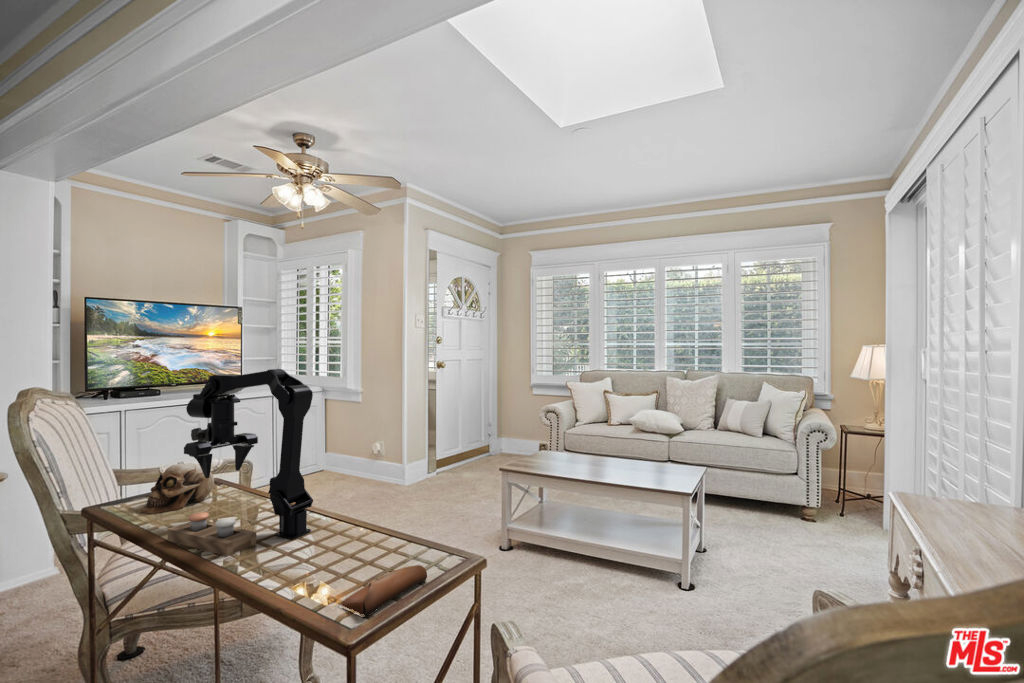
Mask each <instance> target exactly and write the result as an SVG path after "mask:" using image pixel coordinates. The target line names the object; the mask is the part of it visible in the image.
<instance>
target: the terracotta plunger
mask: <svg viewBox="0 0 1024 683" xmlns="http://www.w3.org/2000/svg"><path fill="white" fill-rule="evenodd" d="M208 518H210V514H209V512H205V511H204V512H203V511H202V512H195V513H192V514H190V515H188V522H190V531H192V532H197V531H201V530H204V529H206V528H207V521H208Z"/></svg>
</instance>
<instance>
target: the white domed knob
mask: <svg viewBox="0 0 1024 683" xmlns="http://www.w3.org/2000/svg"><path fill="white" fill-rule="evenodd" d="M214 523H215V526H216V527H217V537H218V538H227V537H230V536H232V535H233V534H234V527H235V524H236V523H237V522H236V518H234V517H226V518H221V519H218V520H216V521H215V522H214Z"/></svg>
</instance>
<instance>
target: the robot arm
mask: <svg viewBox="0 0 1024 683" xmlns="http://www.w3.org/2000/svg"><path fill="white" fill-rule="evenodd" d="M266 385H267V386H268V387H269V389H270V394H271V395H272V396H273V397H274V398H275V399H276V400H277V404H278V410H279V412H280V414H281V417H282V418H283V421H282V433H281V434H282V436H281V447H280V448H281V449H280V459H279V471H278V473H277V475H276V476H274V477H270V480H269V490H268V492H267V494H269V499H270V502H271V505H272V508H273V512H274V514H275V515H276V516H279V517H278V518H279V522H278V524H279V526H278V527H279V528H278V529H279V531H278V532H276V533H274V536H276V537H281V538H285V539H290V540H295V539H296V538H299V537H301V536H304V535H306V534H308V533H311V532H312V529H310V528H307V526H308V525H307V519H308V517H307V512H308V510H307V509H309V508H311V507H312V506H313V502H314V499H313V498H312V496H311V495H310V493H309V492H308V491H307V490H306V488H305V486H306V485H305V479H304V477H303V475H302V473H301V471H300V467H301V457H302V456H301V455H302V446H303V445H302V441H303V432H304V420H305V417H306V415H307V414H308V412H309V411H310V409H311V406H312V400H313V397H314V396H313V390H312V389H311V388H310V386H308V385H307V384H304V383H303V382H302V381H301V380H299V379H297V378H296V377H293V376H292V375H290V374H289V373H288V372H286V371H285V370H284V369H281V368H274V369H273V368H272V369H270V368H269V369H267V370H263V371H258V372H252V373H244V374H238V373H236V374H235V373H227V374H226V373H225V374H212V375H210V376H209V377H208V379H207V381H206V383H205V385H204V387H203V388H202V390H201V391H200V393H196V394H195V393H194V394H193V395H192V399H191V400H189V401H188V403H187V405H186V413H187V415H188V416H189V417H191V418H199V419H200V418H201V419H202V418H203V419H210V422H207V425H206V428H205V429H202V428H201V427H197V428H196V427H195V428H193V429H191V430H190V437H191V441H192V442H187V443H186V444H185V446H184V447H183V454H184V455H188V456H189V457H192V458H194V459H195V460H196V462H197V464H199V465H200V467H201V469H202V471H203V474H204V476H205V478H209V476H210V471H211V472H212V470H211V468H212V462H213V453H210V452H211V451H212V450H214V449H218V448H224V447H228V446H232V448H233V450H234V466H235V471H240V470H241V469H242V465H243V464H244V462H245V460H246V458H247V456H248V455H249V453H250V451H251V449H253V448H254V447H255V445H257V444H258V443H259V437H258V436H257V435H256V433H252V432H251V433H250V432H248V433H247V432H243V433H238V434H235V426H238V421H235V404H237V403H238V404H239V403H241V400H240V398H239V397H237V396H236V395H235V394H236V393H238V392H241V391H242V390H244V389H246V388H252V387H260V386H266Z"/></svg>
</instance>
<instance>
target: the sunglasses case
mask: <svg viewBox="0 0 1024 683" xmlns="http://www.w3.org/2000/svg"><path fill="white" fill-rule="evenodd" d="M426 578H428V572H427V570H426V568H425V567H424V565H421V564H416V565H410V566H405V567H402V568H398V569H395V570H392V571H391V572H388V573H385V574H383V575H380V576H379V577H377V578H374V579H373V580H371V581H370V582H369V583H368V585H365V586H364V587H362V588H361V589H359V590H356V591H355V592H354V593H352V594H351V595H349V596H348V597H346V598H345V599H344V600H342V601H341V602H340V603H341V604H342V605H343V606H345V607H347V608H349V609H353V610H354V611H357V612H359V613H360V614H364V615H365V616H366V617H368V616H367V615H369V614H371V613H372V612H373V613H375V612H376V611H377V610H376V609H378V608H379V607H381V606H382V605H383V606H384V605H386V604H388V603H389V602H390V601H391V600H394V599H395V598H397V597H398V596H400V595H401V593H402V594H403V593H405V592H407V591H409V590H410V589H412V588H413V586H414V587H415V586H417V585H419V584H421V583H422V582H424V581H423V580H424V579H426ZM426 580H427V579H426ZM421 581H422V582H421ZM408 589H409V590H408ZM387 602H388V603H387ZM385 603H386V604H385ZM383 606H382V607H383ZM382 607H381V608H382ZM379 609H380V608H379ZM379 609H378V610H379ZM375 610H376V611H375ZM374 611H375V612H374ZM373 613H372V614H373ZM372 614H371V615H372ZM369 616H370V615H369Z"/></svg>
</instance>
